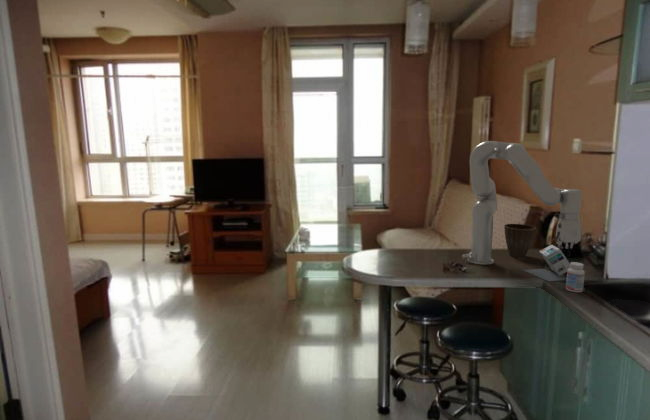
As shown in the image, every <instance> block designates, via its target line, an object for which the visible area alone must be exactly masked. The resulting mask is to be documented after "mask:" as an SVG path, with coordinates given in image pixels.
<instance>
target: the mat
mask: <svg viewBox="0 0 650 420" xmlns="http://www.w3.org/2000/svg"><path fill="white" fill-rule="evenodd" d="M522 271H523V272H525V273H527V274H530V275H532V276H534V277H536V278H539V279H542V281H543V280H544V281H546V282H547V283H550V282H561V281H563V282H564V281H565V282H566V279H567V277H565V276H562V275H558V274H557V273H556V272H554V271H550V270H548V269H546V268H536V269H535V268H534V269H523V270H522Z"/></svg>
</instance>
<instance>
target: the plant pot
mask: <svg viewBox="0 0 650 420" xmlns="http://www.w3.org/2000/svg"><path fill="white" fill-rule="evenodd" d="M503 227H504V228H503V229H504V237H505V243H506V247H507V251H508V252H507V253H508V254H509V256H510V257H512V258H517V259H518V258H519V259H522V258H525V257H526V256H527V254H528V252H529V250H530V247H531V245H532V242H533V240H534V236H535V234H536V229H537V228H536V226H533V225H529V224H522V223H507V224H504V226H503Z"/></svg>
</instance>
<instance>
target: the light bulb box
mask: <svg viewBox="0 0 650 420" xmlns="http://www.w3.org/2000/svg"><path fill="white" fill-rule="evenodd" d="M539 253H540V254H541V256H542V257H543V259H544V261H545V262H546V263H547V264H548V266H549V267H550V269H551V270H552V272H553V273H555V274H558V275H560V276H562V275H564V274H566V273H567V270H568V269H569V268H571V267H570V263H571V262H569V260H568V259H567V257H565V256H564V254H563V253H562V250H561V248H559V247H557V246H555V245H553V244H550V245H548V246H547V247H545V248H543V249H541V250H539Z"/></svg>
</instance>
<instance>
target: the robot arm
mask: <svg viewBox="0 0 650 420" xmlns="http://www.w3.org/2000/svg"><path fill="white" fill-rule="evenodd" d="M490 159H496V160H504V161H505V160H506V161H508V162H509V164H510V165H512V167H513V168H514V169H515V170H516V172H517V173H518V174H519V175H520V176H521V178H522V179H523V180H524V181H525V183H526V184H527V185H528V186H529V188H530V189H531V190H532V192H533V193H534V194H535V196H537V197H538V199H539V200H540V201H541V202H542V203H543V204H544V205H546V206H547V207H548V206H549V207H553V206H557V205H558V204H560V213H559V215H558V218H559V219H558V222H557V225H556V229H555V230H556V231H555V242H556V243H555V244H557V245H559V246H560V247H561V248H562V250H561V251H562V253H563V254H564V256H565V257H566V258H570V257H571V254H572V253H571V251H572V249H573V247H574V245H576V244H578V243H579V242H581V240H582V221H581V219H580V215H581V213H580V212H581V205H582V194H583V193H582V191H581V190H579V189H574V188H566V189H565V188H559V187H554V186H553V185H552V184H551V183H550V181H549V180H548V179H547V177H546V176H545V175H544V173H543V171H542V169H541V167H540V165H539V164H538V163H537V162H536V160H535V159H534V158H533V157H532V156H531V155H530V154H529V153H528V152H527V150H526V147H525V145H523V144H522V143H518V142H517V143H515V142H505V141H496V140H485V141H483V142H481V143H479V144H478V145H476V146H475V147H474V148H473V150H472V152H471V153H470V156H469V170H470V180H471V181H470V182H471V191H472V193H473V194H474V195H475V196H476V199H477V200H476V202H475V203H474V205H473V206H472V209H471V210H472V213H471V214H472V231H471V247H470V248H471V249H470V251H469V252H468V253H466V254H465V253H464V254H462V255H461V259H467V261H468V262H469V263H471V264H475V265H481V266H482V265H484V266H487V265H488V266H489V265H493V264H494V263H495V260H494V259H493V258H492V248H493V247H492V246H493V245H492V244H493V234H494V232H493V231H494V230H493V229H494V214H495V213H496V212H497V210H498V198H497V190H496V189H497V188H496V183H495V181H494V180H493V179H492V178H491V176H490V169H489V163H488V162H489V160H490Z"/></svg>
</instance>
